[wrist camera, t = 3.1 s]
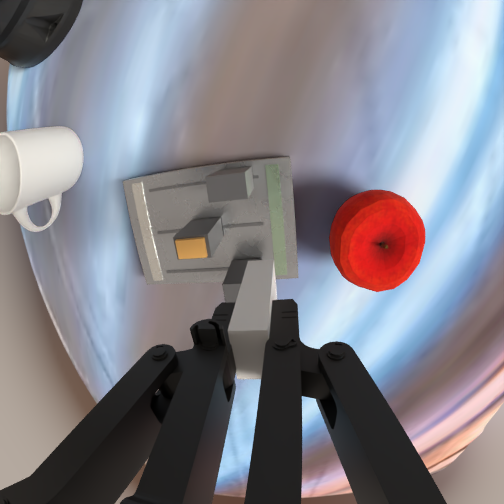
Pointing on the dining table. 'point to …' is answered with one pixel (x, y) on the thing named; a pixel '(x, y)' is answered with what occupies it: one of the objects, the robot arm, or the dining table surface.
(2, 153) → the mug
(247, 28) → the dining table surface
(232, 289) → the breaker
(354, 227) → the apple
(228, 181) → the block
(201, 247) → the block
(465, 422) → the dining table surface
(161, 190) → the panel
